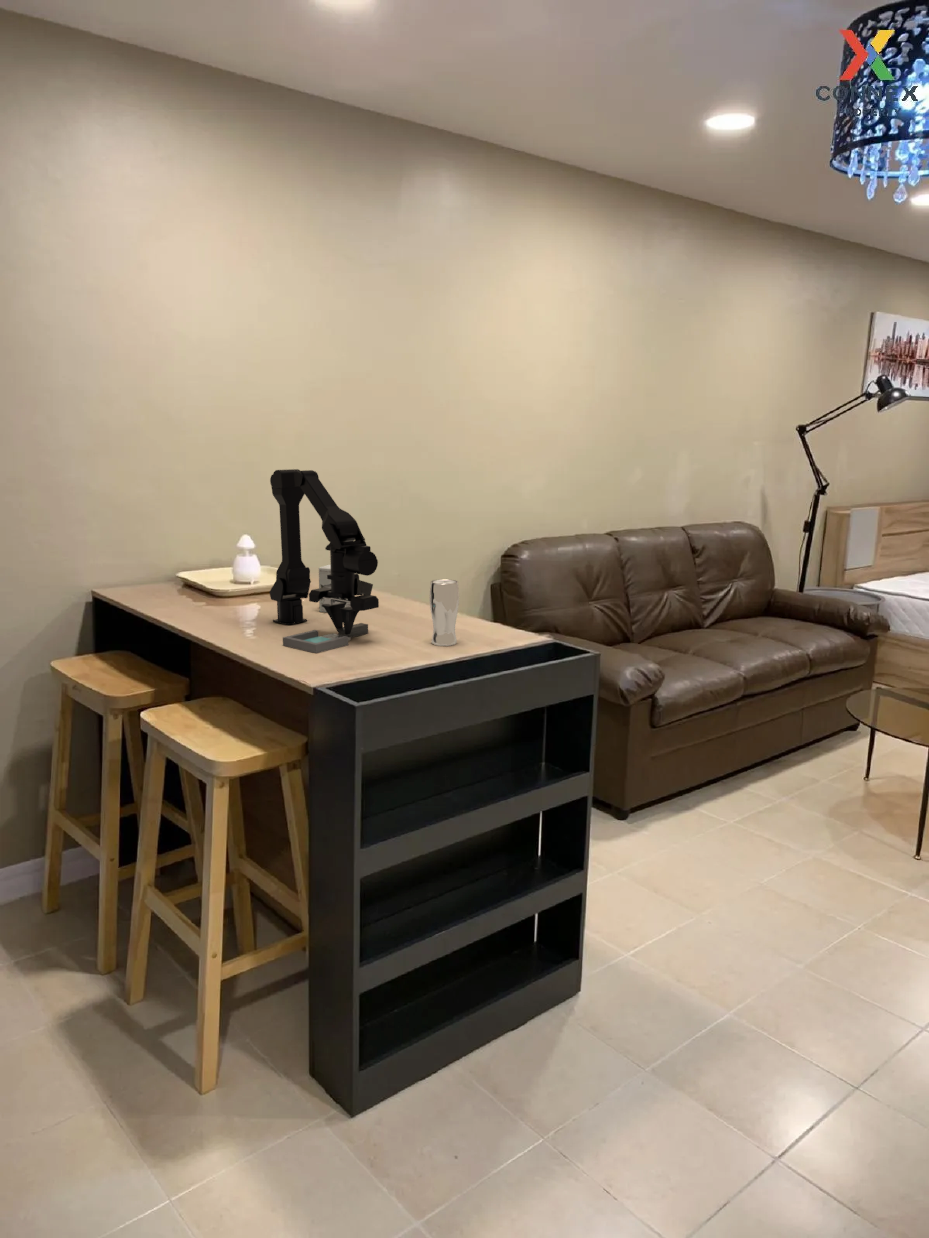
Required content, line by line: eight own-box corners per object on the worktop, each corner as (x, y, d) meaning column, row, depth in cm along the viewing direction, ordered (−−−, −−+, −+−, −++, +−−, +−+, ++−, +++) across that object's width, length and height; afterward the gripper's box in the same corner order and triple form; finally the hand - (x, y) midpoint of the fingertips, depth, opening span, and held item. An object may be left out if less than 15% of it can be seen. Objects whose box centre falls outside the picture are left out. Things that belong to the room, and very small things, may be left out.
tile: (303, 646, 213) (303, 640, 213) (319, 642, 217) (319, 636, 217) (318, 649, 210) (318, 643, 210) (333, 645, 214) (333, 639, 214)
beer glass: (429, 639, 219) (428, 579, 216) (457, 639, 219) (457, 578, 216) (430, 646, 212) (430, 584, 209) (459, 646, 213) (460, 584, 209)
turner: (356, 631, 227) (356, 621, 227) (373, 634, 224) (373, 625, 223) (318, 639, 217) (317, 630, 217) (335, 643, 214) (335, 634, 213)
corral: (283, 645, 212) (282, 637, 212) (315, 637, 220) (314, 629, 220) (316, 653, 205) (316, 644, 205) (348, 644, 213) (348, 636, 213)
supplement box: (318, 612, 250) (317, 567, 247) (332, 607, 256) (331, 563, 254) (341, 614, 247) (340, 569, 244) (355, 609, 254) (354, 565, 251)
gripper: (394, 570, 217) (394, 633, 220) (339, 562, 228) (340, 622, 231) (361, 576, 208) (362, 641, 212) (306, 567, 220) (308, 630, 223)
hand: (344, 633), depth 220 cm, fingers closed on turner, 2 cm apart
